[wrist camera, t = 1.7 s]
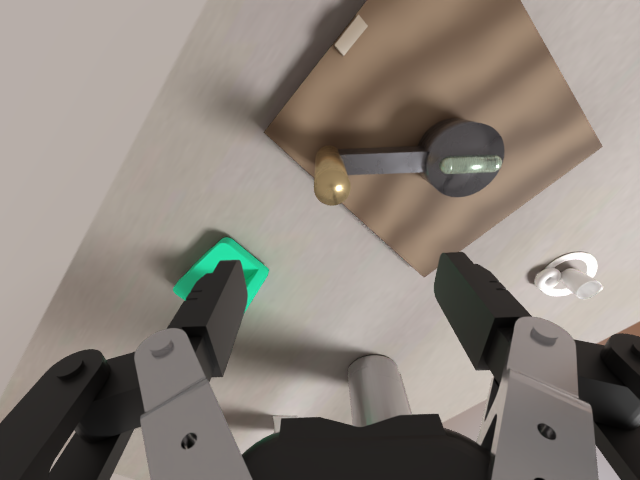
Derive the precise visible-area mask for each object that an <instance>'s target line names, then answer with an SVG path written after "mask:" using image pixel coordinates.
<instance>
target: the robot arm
mask: <svg viewBox="0 0 640 480" xmlns="http://www.w3.org/2000/svg"><path fill="white" fill-rule="evenodd" d="M434 293H435V297H436V299H437V301H438V303H439V305H440V307H441V309H442V310H443V312H444V314H445V316H446V318H447V319H448V321H449V323H450V325H451V327H452V328H453V330H454V332H455V334H456V336H457V337H458V339H459V341H460V343H461V344H462V346H463V348H464V350H465V352H466V353H467V355H468V357H469V359H470V361H471V362H472V364H473V366H474V368H475V370H490V371H491V372H492V374H493V378H492V381H491V384H490V389H489V393H488V397H487V402H486V406H485V410H484V415H483V419H482V424H481V428H480V431H479V435H478V438H477V441H476V442H475V441H473V440H471V439H470V438H468V437H466V436H464V435H462V434H460V433H457V432H454V431H452V430H449V429H446V428H443V426H442V423H441V420H440V417H439V414H418V415H412V412H411V409H410V405H409V402H408V398H407V395H406V391H405V388H404V384H403V381H402V377H401V374H399V372H398V368H397V365H396V364H395V362H394V361H393V360H391V359H390V358H387V357H384V356H379V355H370V356H365V357H362V358H359V359H358V360H356V361H354V362H353V363H352V364H351V365H350V367H349V369H348V382H349V392H350V403H351V413H352V423H353V426H352V425H348V424H344V423H340V422H337V421H333V420H329V419H325V418H321V417H309V418H281V424H280V432H277V433H274V434H271V435H269V436H267V437H265V438H263V439H262V440H260V441H258V442H257V443H255V444H254V445H253V446H251V447H250V448H249V449H248V450H246V451H245V452H244V453H243V454H242V455H241V453H240V451H239V448H238V446H237V444H236V442H235V439H234V437H233V435H232V433H231V430H230V428H229V426H228V424H227V422H226V419H225V417H224V415H223V413H222V410H221V408H220V406H219V404H218V401H217V399H216V397H215V395H214V392H213V390H212V388H211V386H210V384H209V382H210V379H211V377H223V375H224V372H225V369H226V366H227V363H228V360H229V357H230V354H231V351H232V348H233V345H234V342H235V339H236V336H237V333H238V330H239V327H240V324H241V321H242V318H243V315H244V312H245V309H246V305H247V299H248V293H247V287H246V282H245V277H244V273H243V268H242V264H241V261H240V260H221V261H219V262H218V264H217V266H216V268H215V269H214V271H213V273H206V274H205V275H204V276H203V277H201V278H200V279H199V280H198V281H197V282H196V283H195V285H194V286H193V288H192V289H191V293H189V294H188V296H187V297H186V301H184V302H183V304H182V305H181V307H180V309H179V310H178V312H177V313H176V315H175V316H174V318H173V320H172V321H171V323H170V324H169V326H168V328H167V329H165V330H161V331H159V332H157V333H155V334H153V335H151V336H149V337H148V338H147V339H145V340H144V341H143V342H142V343H141V344H140V345H139V347H138V348H137V350H136V352H133V353H129V354H126V355H122V356H118V357H115V358H111V359H108V360H106V359H105V358H104V356H103V354H102V353H101V352H100V351H98V350H94V349H89V350H83V351H79V352H76V353H74V354H71V355H69V356H67V357H65V358H63V359H62V360H60V361H59V362H57V363H56V364H55V365H53V366H52V367H51V368H50V369H49V370H48V371H47V372H46V373H45V374H44V375H43V376H42V377H41V378H40V379H39V380H38V382H37V383H36V384H35V385H34V386H33V387H32V388H31V389H30V391H29V392H28V393H27V394H26V395H25V396H24V397H23V398H22V400H21V401H20V402H19V403H18V404H17V405H16V406H15V407H14V408H13V410H12V411H11V412H10V413H9V414H8V415H7V416H6V417H5V419H4V420H3V421H2V422H1V423H0V480H110V478H111V476H112V474H113V472H114V470H115V468H116V465H117V463H118V461H119V459H120V457H121V455H122V453H123V451H124V449H125V447H126V445H127V443H128V441H129V439H130V437H131V435H132V432H133V430H134V429H135V428H138V427H141V428H142V434H143V439H144V445H145V451H146V456H147V462H148V467H149V473H150V478H151V480H599V479H598V468H597V459H596V458H597V457H596V447H595V444H596V446H597V447H598V449H599V450H600V451H601V452H602V454H603V456H604V457H605V458H606V460H607V461H608V462H609V464H610V465H611V467H612V468H613V469H614V471H615V472H616V473H617V475H618V476H619V478H620V479H621V480H640V337H639V336H635V335H630V334H614V335H612V336H611V337H610V338H609V340H608V341H607V343H606V344H605V346H604V345H599V344H594V343H589V342H584V341H579V340H574V339H573V338H572V336H571V335H570V334H569V333H568V332H567V331H565V330H564V329H563V328H561V327H560V326H558V325H556V324H555V323H552V322H550V321H548V320H545V319H542V318H538V317H532V316H531V315H530V314H529V313H528V312H527V310H526V309H525V308H524V307H523V306H522V305H521V304H520V303H519V302H518V301H517V300H516V299H515V298H514V297H513V295H512V294H511V293H510V292H509V291H508V290H506V288H505V287H504V286H503V285H502V284H501V283H499V280H498V279H497V278H496V277H495V276H494V275H493V274H492V273H491V272H490V271H488V270H487V269H485V268H483V267H482V266H480V265H478V264H473V262H472V261H471V260H470V259H469V258H468V257H467V256H466V254H465V253H463V252H449V253H442V254H441V255H440V258H439V262H438V267H437V272H436V277H435V282H434ZM74 430H75V432H76V433H75V434H74V436H73V437H72V439H71V440H70V442H69V443H68V445H67V446H66V448H65V449H64V451H63V453H62V454H61V456H60V457H59V459H58V460H57V462H56V463H55V465H54V466H53V468H52V469H51V471H50V468H51V466H52V464H53V462H54V460H55V458H56V457H57V455H58V454H59V452H60V451H61V449H62V448H63V446H64V444H65V443H66V441H67V440H68V438H69V437H70V435H71V434H72V432H73V431H74Z"/></svg>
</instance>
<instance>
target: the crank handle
mask: <svg viewBox="0 0 640 480" xmlns="http://www.w3.org/2000/svg"><path fill="white" fill-rule="evenodd" d="M504 152H505V150H504V143H503V140H502V137H501V136H500V134H499V133H498V132H497V131H496V130H495V129H494V128H493V127H491V126H489V125H486V124H483V123H478V122H473V121H469V120H464V119H459V118H451V119H446V120H443V121H440V122H438V123H436V124H435V125H433V126H432V127H431V128H429V129H428V130H427V131H426V132H425V134H424V135H423V136H422V138H421V139H420V141H419V143H418V145H417V146H404V147H378V148H352V149H337V148H336V147H334V146H324V147H322V148H320V149H319V151H318V152H317V154H316V160H315V178H314V192H315V195H316V197H317V198H318V200H319V201H321V202H322V203H324V204H326V205H338V204H340V203H342V202H344V201H345V200H346V199H347V197H348V196H349V194H350V190H351V184H350V181H349V178H348V175H366V174H393V173H419V174H420V175H421V176H422V177H423V178H424V179H425V180H426V181H427V182H428V183H430V184H431V185H432V186H433V187H434V188H435V189H437V190H438V191H439V192H440V193H442V194H444V195H446V196H450V197H465V196H469V195H472V194H475V193H477V192H479V191H480V190H482V189H483V188H485V187H486V186H487V185H488V184H489V183H490V182H491V181H492V180H493V179H494V178H495V176H496V175H497V174H498V172H499V170H500V168H501V166H502V163H503V159H504Z"/></svg>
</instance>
